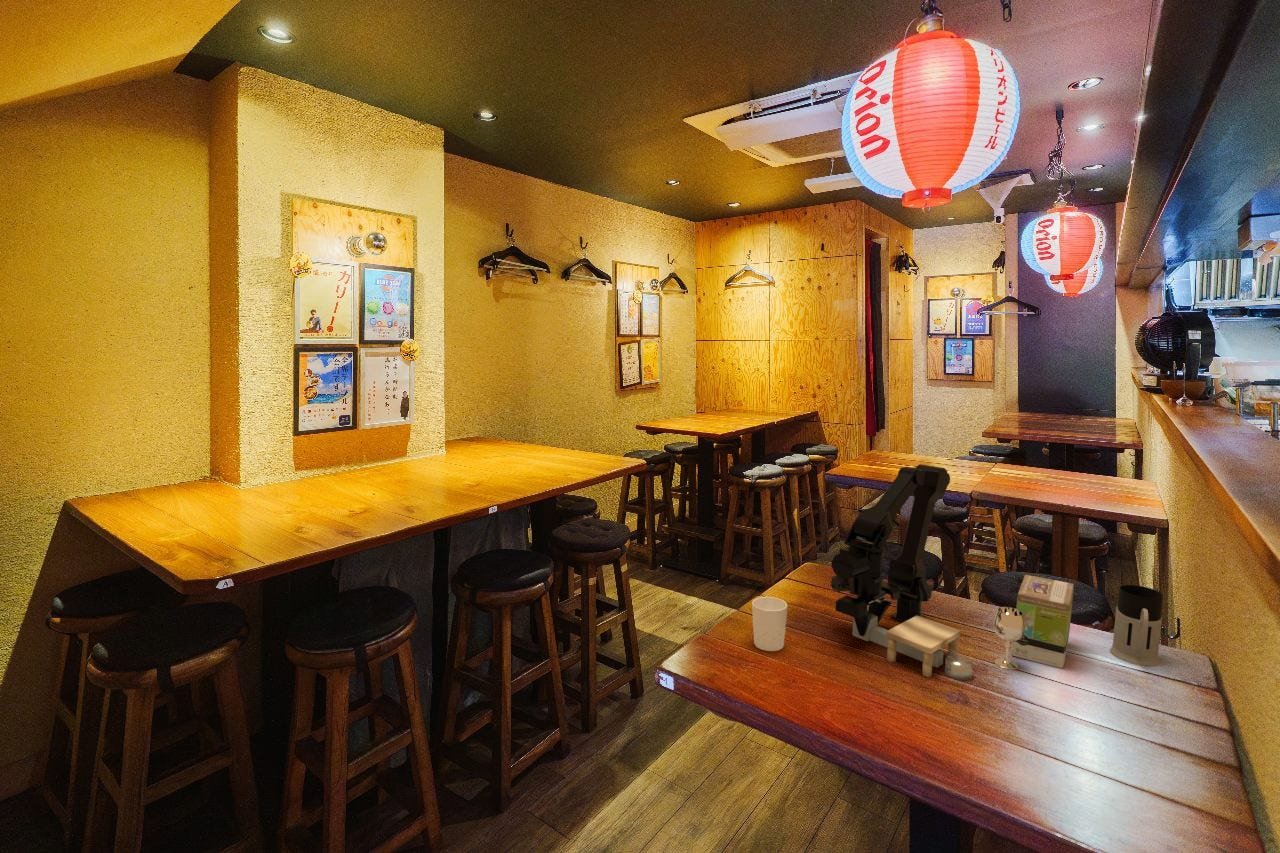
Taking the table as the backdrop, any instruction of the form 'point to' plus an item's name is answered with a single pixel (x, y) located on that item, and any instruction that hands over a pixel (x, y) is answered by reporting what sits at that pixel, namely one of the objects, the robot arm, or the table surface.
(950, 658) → the steel puck
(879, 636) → the gray hammer
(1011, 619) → the wineglass
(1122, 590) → the glass holder
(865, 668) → the table surface
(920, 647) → the hinoki shelf
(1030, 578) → the tea box
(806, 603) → the table surface
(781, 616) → the white cup
